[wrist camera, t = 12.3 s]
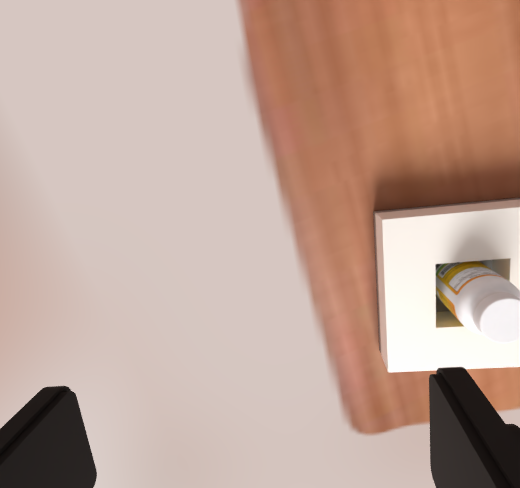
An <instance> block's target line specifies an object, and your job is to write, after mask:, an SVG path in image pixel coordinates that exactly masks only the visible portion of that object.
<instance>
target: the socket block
mask: <svg viewBox="0 0 520 488" xmlns="http://www.w3.org/2000/svg"><path fill="white" fill-rule="evenodd" d="M373 215H374V237H375V260H376V282H377V305H378V327H379V350H380V352H381V355H382V358H383V360H384V363H385V365H386V368H387V371H388V372H409V371H432V370H437V369H438V368H447V367H464V368H465V369H477V368H500V367H520V339H518V340H517V341H514V342H511V343H496V342H493V341H491V340H489V339H488V338H486V337H485V336H484V335H480V334H477V333H474V332H472V331H470V330H468V329H467V328H466V327H465V326H464V325H463V324H462V323H461V322H460V321H459V320H458V319H457V318H456V317H455V316H454V315H453V313H452V312H451V311H450V310H449V309H448V308H447V307H446V306H445V304H444V303H443V302H442V301H441V300H440V299H439V298H438V297H437V295H436V269H437V268H438V267H439V266H440V265H441V264H442V263H455V262H468V261H479V262H481V263H482V264H484V265H485V266H487V267H488V268H490V269H491V270H493V271H494V272H496V273H497V274H499V275H500V276H502V277H504V278H505V279H507V280H508V281H510V282H511V283H512V284H513V285H515V286H516V287H517V289H518V290H519V291H520V198H510V199H499V200H488V201H478V202H467V203H457V204H446V205H435V206H425V207H414V208H404V209H393V210H383V211H373Z"/></svg>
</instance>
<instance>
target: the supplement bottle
mask: <svg viewBox="0 0 520 488" xmlns="http://www.w3.org/2000/svg"><path fill="white" fill-rule="evenodd" d="M436 295H437V297H438V298H439V299H440V300H441V301H442V302H443V303H444V304H445V306H446V307H447V308H448V309H449V310H450V311H451V312H452V313H453V315H454V316H455V317H456V318H457V319H458V320H459V321H460V322H461V323H462V324H463V325H464V326H465V327H466V328H467V329H468V330H470V331H472V332H474V333H477V334H480V335H484V336H485V337H486V338H488V339H489V340H491V341H493V342H496V343H511V342H514V341H517V340H518V339H520V291H519V290H518V289H517V287H516V286H515V285H513V284H512V283H511V282H510V281H508V280H507V279H505V278H504V277H502V276H500V275H499V274H497V273H496V272H494V271H493V270H491V269H490V268H488V267H487V266H485V265H484V264H482V263H481V262H479V261H468V262H455V263H442V264H441V265H440V266H439V267H438V268H437V269H436Z"/></svg>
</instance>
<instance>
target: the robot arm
mask: <svg viewBox="0 0 520 488" xmlns="http://www.w3.org/2000/svg"><path fill="white" fill-rule="evenodd" d="M429 396H430V454H431V455H430V459H431V471H432V476H433V480H434V483H435V486H436V488H520V428H519V427H518V426H516V425H514V424H505V423H504V421H503V420H502V419H501V417H500V416H499V415H498V413H497V412H496V410H495V409H494V408H493V406H492V405H491V404H490V402H489V401H488V399H487V398H486V397H485V395H484V394H483V393H482V391H481V390H480V388H479V387H478V386H477V384H476V383H475V382H474V380H473V379H472V377H471V376H470V375H469V373H468V372H467V371H466V369H465V368H464V367H447V368H438V369H437V374H431V375H430V377H429ZM96 476H97V472H96V468H95V464H94V460H93V456H92V453H91V449H90V445H89V442H88V438H87V435H86V430H85V427H84V423H83V419H82V416H81V412H80V408H79V405H78V401H77V397H76V394H75V393H74V392H72V391H71V390H70V389H69V388H68V387H66V386H58V387H57V386H56V387H45V388H43V389H42V390H40V391H39V392H38V393H37V394H36V395H35V396H34V397H33V398H32V399H31V400H30V401H29V402H28V403H27V404H26V405H25V406H24V407H23V408H22V409H21V410H20V411H19V412H17V414H15V415H14V416H13V417H12V418H11V419H10V420H9V421H8V422H7V423H6V424H5V425H4V426H3V427H2V428H1V429H0V488H93V487H94V485H95V481H96Z"/></svg>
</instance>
